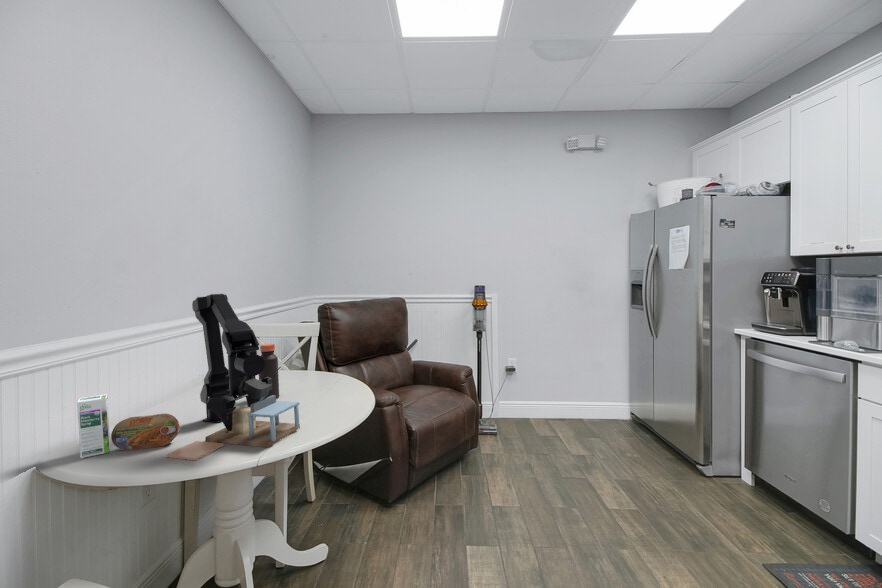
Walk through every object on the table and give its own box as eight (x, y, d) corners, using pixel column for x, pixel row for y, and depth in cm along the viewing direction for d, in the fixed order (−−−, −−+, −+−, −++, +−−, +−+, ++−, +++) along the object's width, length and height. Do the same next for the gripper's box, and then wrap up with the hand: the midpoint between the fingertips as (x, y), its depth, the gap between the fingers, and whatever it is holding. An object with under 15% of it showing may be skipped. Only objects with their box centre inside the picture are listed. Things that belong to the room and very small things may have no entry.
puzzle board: (205, 441, 111) (205, 436, 111) (242, 423, 125) (242, 419, 125) (267, 447, 106) (267, 442, 106) (299, 428, 120) (299, 424, 120)
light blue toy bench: (248, 438, 109) (246, 406, 109) (276, 423, 120) (275, 394, 120) (273, 441, 107) (272, 407, 107) (300, 425, 118) (298, 395, 118)
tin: (111, 452, 105) (109, 420, 105) (117, 448, 108) (115, 416, 108) (177, 444, 110) (176, 413, 109) (181, 440, 113) (180, 410, 112)
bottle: (269, 394, 156) (267, 342, 155) (283, 396, 153) (281, 343, 153) (255, 399, 150) (253, 345, 149) (269, 401, 147) (267, 346, 146)
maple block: (228, 436, 115) (227, 411, 115) (241, 429, 120) (240, 406, 119) (243, 437, 114) (242, 412, 113) (256, 431, 118) (255, 407, 118)
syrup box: (79, 459, 102) (76, 401, 101) (82, 451, 107) (79, 396, 106) (109, 453, 105) (106, 397, 105) (110, 445, 110) (107, 392, 109)
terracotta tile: (166, 457, 102) (166, 454, 102) (196, 443, 110) (196, 440, 110) (195, 460, 99) (195, 458, 99) (223, 445, 108) (223, 443, 108)
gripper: (239, 380, 105) (241, 439, 105) (284, 364, 123) (287, 416, 123) (203, 378, 108) (206, 436, 108) (253, 363, 126) (255, 413, 126)
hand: (242, 424), depth 117 cm, fingers open, 9 cm apart
